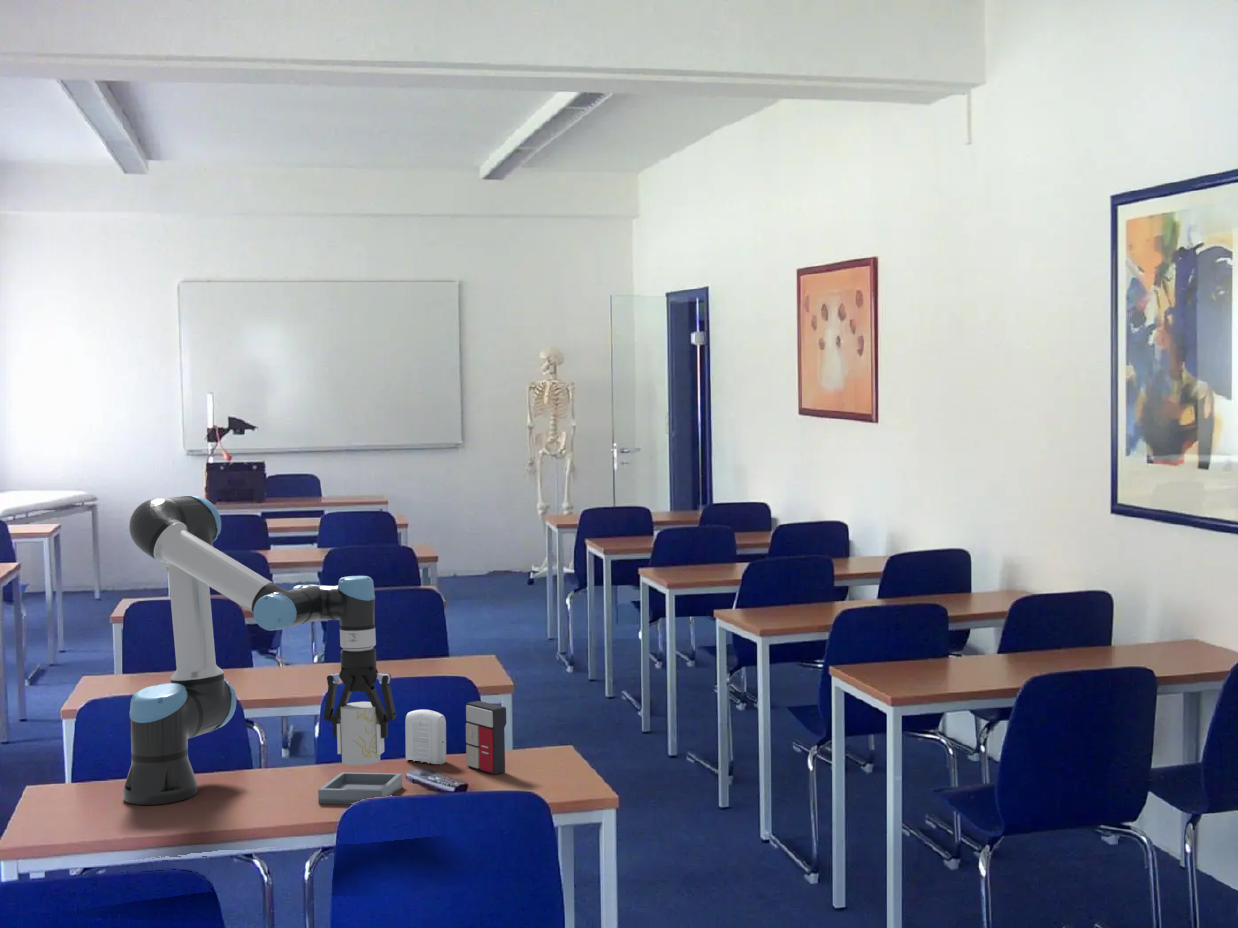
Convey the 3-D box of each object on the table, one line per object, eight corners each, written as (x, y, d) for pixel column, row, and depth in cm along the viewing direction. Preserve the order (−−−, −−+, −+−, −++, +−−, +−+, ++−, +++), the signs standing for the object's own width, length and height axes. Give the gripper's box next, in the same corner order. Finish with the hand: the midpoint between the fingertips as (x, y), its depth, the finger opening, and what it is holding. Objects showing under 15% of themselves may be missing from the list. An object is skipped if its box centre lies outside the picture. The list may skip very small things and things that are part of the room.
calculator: (464, 766, 304) (463, 703, 303) (479, 763, 306) (478, 700, 306) (492, 775, 295) (491, 710, 295) (507, 771, 298) (506, 707, 298)
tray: (318, 803, 275) (318, 789, 275) (341, 785, 289) (341, 772, 289) (382, 804, 273) (382, 790, 273) (402, 786, 287) (402, 773, 287)
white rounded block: (449, 761, 309) (448, 709, 308) (439, 765, 305) (438, 713, 305) (413, 757, 313) (412, 706, 313) (403, 761, 309) (401, 709, 309)
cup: (359, 767, 275) (358, 711, 275) (334, 762, 280) (332, 706, 280) (388, 759, 282) (386, 704, 281) (362, 754, 287) (361, 700, 286)
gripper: (305, 650, 278) (308, 756, 279) (399, 650, 275) (402, 757, 276) (318, 645, 285) (320, 747, 286) (410, 645, 283) (413, 748, 283)
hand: (361, 752), depth 281 cm, fingers closed on cup, 8 cm apart
